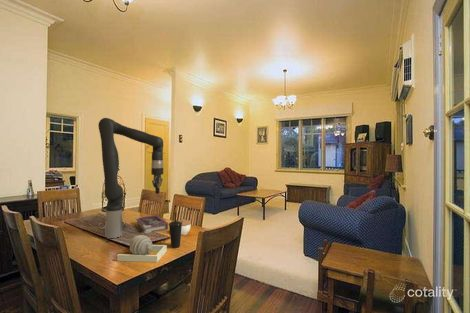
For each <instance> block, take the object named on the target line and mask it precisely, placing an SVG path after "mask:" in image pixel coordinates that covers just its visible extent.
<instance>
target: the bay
mask: <svg viewBox="0 0 470 313" xmlns="http://www.w3.org/2000/svg"><path fill="white" fill-rule="evenodd" d="M167 247H168V246H167V244H166V245H165V244H152V249H151V251H150V252H157V253H156V254H150V255H147V254H146V255H135V254H133V253H132V254H131V253H127V254H125V253H118V254H117V260H116V261H117V262H137V263H139V262H141V263H142V262H143V263H158V262H159V261H160V260H161V258H163V256H164V254H165V253H166V252H167V251H168V248H167Z"/></svg>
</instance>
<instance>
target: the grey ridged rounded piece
mask: <svg viewBox="0 0 470 313" xmlns="http://www.w3.org/2000/svg"><path fill="white" fill-rule="evenodd" d="M152 245H153V242H152V240H151V238H149V237H148V236H147V235H143V234H139V235H135V236H133V237H132V239H131V240H130V241H129V251H130V252H131V253H132V254H135V255H151V252H152V251H151V249H152Z"/></svg>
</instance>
